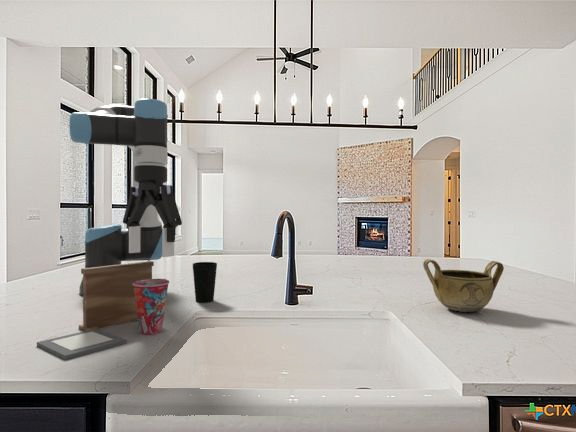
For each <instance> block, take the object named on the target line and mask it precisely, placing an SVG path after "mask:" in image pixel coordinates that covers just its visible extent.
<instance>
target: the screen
mask: <svg viewBox="0 0 576 432" xmlns="http://www.w3.org/2000/svg"><path fill="white" fill-rule="evenodd" d="M154 262H155V261H154V260H150V261H148V260H145V261H140V262H139V261H136V262H130V263H121V264H119V265H109V266H100V267H91V268H85V267H84V268H83V267H82V268H80V271H81V273H80V274H81V275H82V278H83V295H82V309H83V310H82V322H83V323H81V324H78V330H80V331H81V332H83V331H88V330H95V329H99V330H102V329H105V328H109V327H113V326H116V325H117V326H119V325H122V323H123V324H126V323H129V322H134V321H138V317H137V309H136V301H135V294H134V286H133V285H132V283H133V282H135V281H139V280H145V279H153V267H154V266H155V263H154Z"/></svg>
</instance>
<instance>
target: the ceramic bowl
mask: <svg viewBox="0 0 576 432" xmlns="http://www.w3.org/2000/svg"><path fill="white" fill-rule="evenodd" d="M429 263H431V264H432V266H433V267H434V275H433V274H432V272H431V270H430V267H429ZM422 265H423V268H424V271H425V273H426V276H427V277H428V279H429V281H430V284H431V285H432V289H433V292H434V295H435V298H436V299H437V301H438V302H440V304H442V305H443V306H444V307H445V308H447V309H449V310H451V311H453V310H454V311H453V312H456V311H459V312H458V313H463V312H470V313H474V312H478V311H480V310H483V309H484V308H485V307H486V306H487V305H488V304H489V303H490V301H492V298H493V295H494V291H495V290H496V287H497V286H498V283H499V282H500V278H501V276H502V275H503V273H504V270H505V267H504V265H503V263H502V262H500V261H496V260H491V261H490V262H488V264H487V265H486V266H485V268H484V271H483V272H481V271H477V270H476V271H473V270H465V269H464V270H463V269H441V266H440V265H439V263H438V262H437V261H436V260H435V259H431V258H426V259H424V261H423V263H422ZM495 266H496V268H495V271H494V273H493V276H492V269H493V268H494V267H495Z"/></svg>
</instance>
